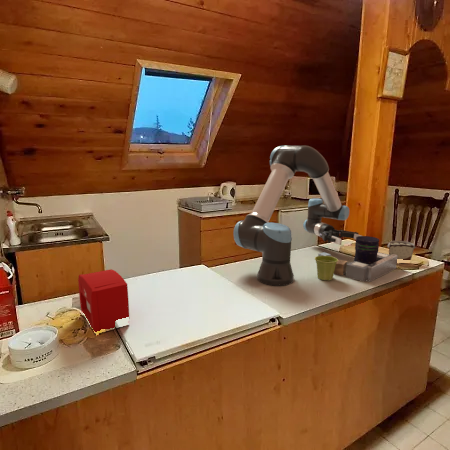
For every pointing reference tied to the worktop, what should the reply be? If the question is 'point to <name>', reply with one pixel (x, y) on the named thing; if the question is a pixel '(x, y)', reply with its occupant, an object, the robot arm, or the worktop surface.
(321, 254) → the bluegrey block
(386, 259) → the rail
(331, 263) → the plant pot
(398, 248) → the food container
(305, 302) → the worktop surface
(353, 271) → the module block
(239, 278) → the worktop surface
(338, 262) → the walnut block
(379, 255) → the block
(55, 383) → the worktop surface
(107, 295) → the fire alarm
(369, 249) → the rusty oil drum
